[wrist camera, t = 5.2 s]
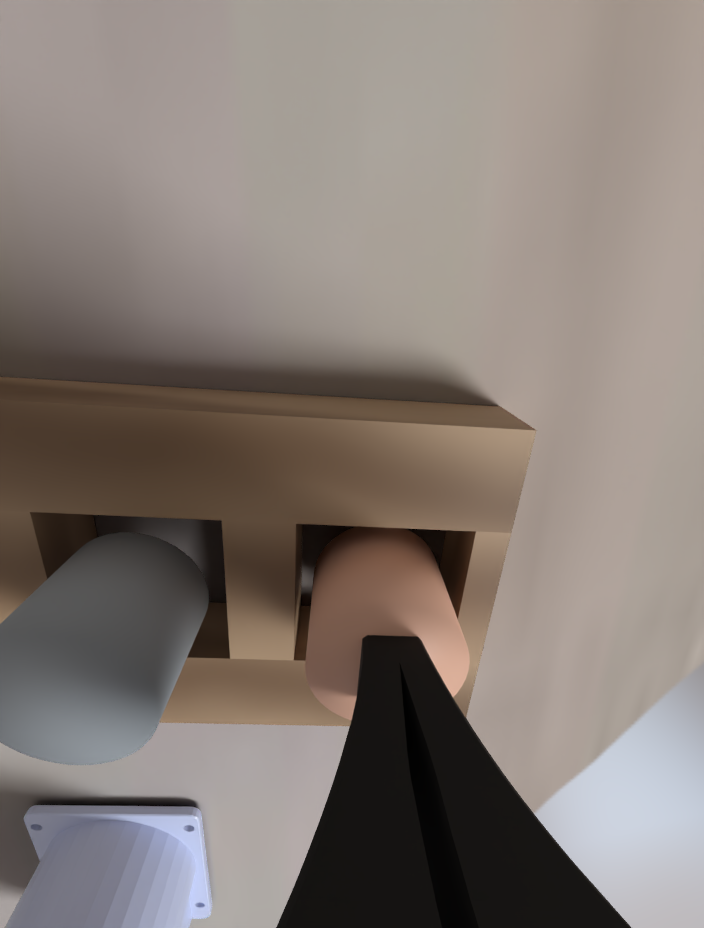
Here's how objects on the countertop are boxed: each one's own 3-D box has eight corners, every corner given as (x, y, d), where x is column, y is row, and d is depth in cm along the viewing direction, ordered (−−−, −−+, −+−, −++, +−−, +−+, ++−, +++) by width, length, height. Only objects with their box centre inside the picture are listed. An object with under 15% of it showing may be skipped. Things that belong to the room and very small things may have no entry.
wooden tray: (445, 668, 17) (463, 728, 14) (-92, 654, 16) (-167, 715, 13) (500, 406, 13) (536, 430, 10) (-225, 363, 11) (-367, 379, 9)
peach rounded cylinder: (428, 627, 14) (455, 726, 11) (311, 623, 14) (303, 723, 10) (446, 526, 12) (483, 605, 9) (315, 520, 12) (306, 599, 9)
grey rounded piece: (212, 646, 13) (168, 766, 9) (80, 642, 12) (-12, 763, 9) (203, 535, 11) (147, 632, 8) (53, 529, 11) (-69, 626, 8)
